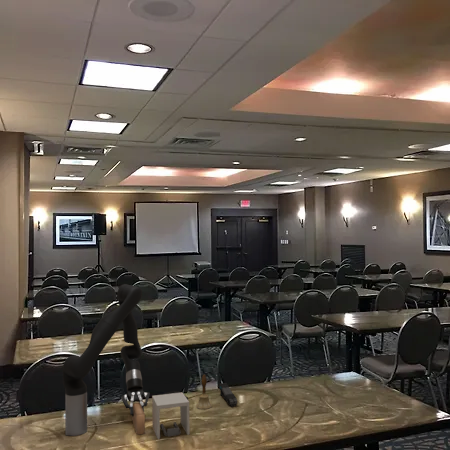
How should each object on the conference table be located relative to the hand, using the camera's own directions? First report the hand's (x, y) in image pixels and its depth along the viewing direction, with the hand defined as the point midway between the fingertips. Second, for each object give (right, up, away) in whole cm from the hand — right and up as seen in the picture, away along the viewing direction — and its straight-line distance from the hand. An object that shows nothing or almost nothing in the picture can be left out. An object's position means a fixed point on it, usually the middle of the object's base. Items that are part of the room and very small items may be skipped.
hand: (137, 415), depth 222 cm
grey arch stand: (+16, -3, -9) cm, 19 cm away
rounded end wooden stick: (+1, -4, -4) cm, 6 cm away
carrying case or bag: (+15, -5, +33) cm, 37 cm away
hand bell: (+30, -4, +22) cm, 37 cm away
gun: (+42, -5, +30) cm, 52 cm away
